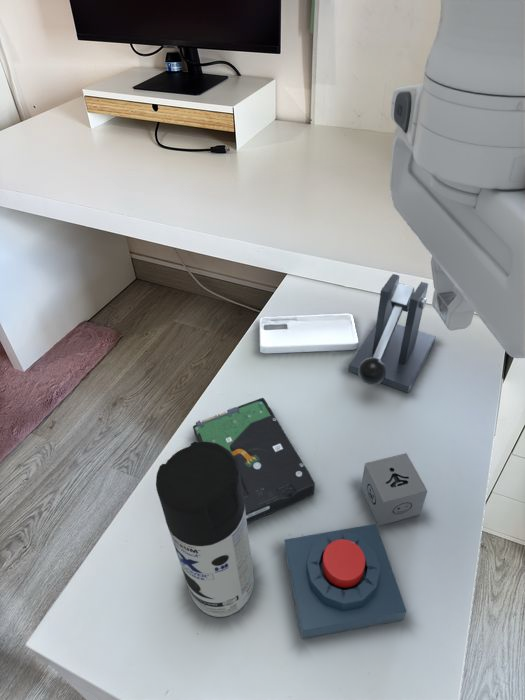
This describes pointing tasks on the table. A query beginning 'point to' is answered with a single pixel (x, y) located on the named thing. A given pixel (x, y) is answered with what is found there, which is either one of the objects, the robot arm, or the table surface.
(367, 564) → the button box
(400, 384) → the bracket
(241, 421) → the disk drive
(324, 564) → the button
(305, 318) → the phone case
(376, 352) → the lever
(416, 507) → the dice cube
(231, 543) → the spray can
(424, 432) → the table surface
